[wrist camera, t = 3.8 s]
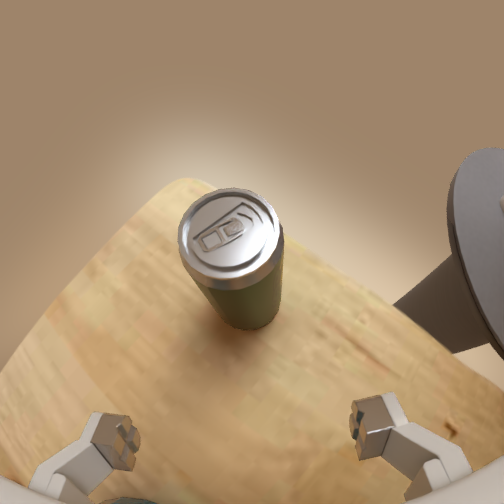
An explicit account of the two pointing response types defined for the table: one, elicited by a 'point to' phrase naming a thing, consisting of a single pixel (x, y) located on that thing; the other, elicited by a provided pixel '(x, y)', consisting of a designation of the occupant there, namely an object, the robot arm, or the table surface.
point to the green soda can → (235, 255)
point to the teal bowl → (127, 501)
